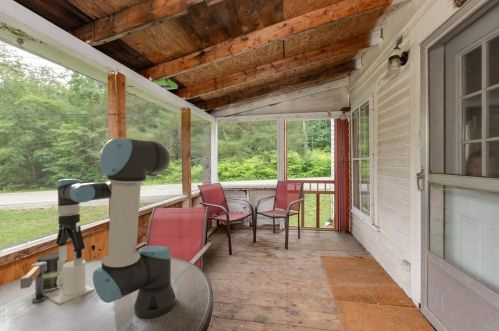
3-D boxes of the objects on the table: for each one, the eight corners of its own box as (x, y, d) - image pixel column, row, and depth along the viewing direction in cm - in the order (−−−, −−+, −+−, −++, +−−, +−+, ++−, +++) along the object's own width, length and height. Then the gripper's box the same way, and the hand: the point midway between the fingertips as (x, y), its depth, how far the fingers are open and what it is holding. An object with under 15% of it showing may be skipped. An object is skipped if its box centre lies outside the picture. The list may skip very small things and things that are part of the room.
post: (48, 299, 100) (47, 271, 100) (34, 304, 96) (34, 275, 96) (43, 296, 102) (43, 269, 102) (30, 301, 98) (30, 273, 98)
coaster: (94, 290, 106) (93, 288, 106) (59, 305, 95) (59, 303, 95) (79, 283, 113) (79, 281, 113) (45, 296, 102) (45, 294, 102)
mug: (63, 301, 97) (62, 271, 97) (49, 297, 100) (48, 268, 100) (90, 287, 108) (90, 260, 108) (77, 284, 111) (77, 258, 111)
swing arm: (33, 270, 100) (33, 262, 100) (48, 268, 102) (48, 260, 102) (15, 289, 85) (15, 279, 85) (33, 286, 87) (33, 276, 87)
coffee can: (43, 293, 104) (43, 261, 104) (33, 288, 109) (32, 257, 109) (70, 283, 113) (70, 253, 113) (59, 278, 118) (59, 250, 118)
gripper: (93, 214, 101) (94, 264, 101) (65, 211, 114) (66, 255, 113) (73, 218, 95) (74, 271, 94) (46, 213, 107) (47, 261, 107)
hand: (70, 263), depth 104 cm, fingers open, 13 cm apart
